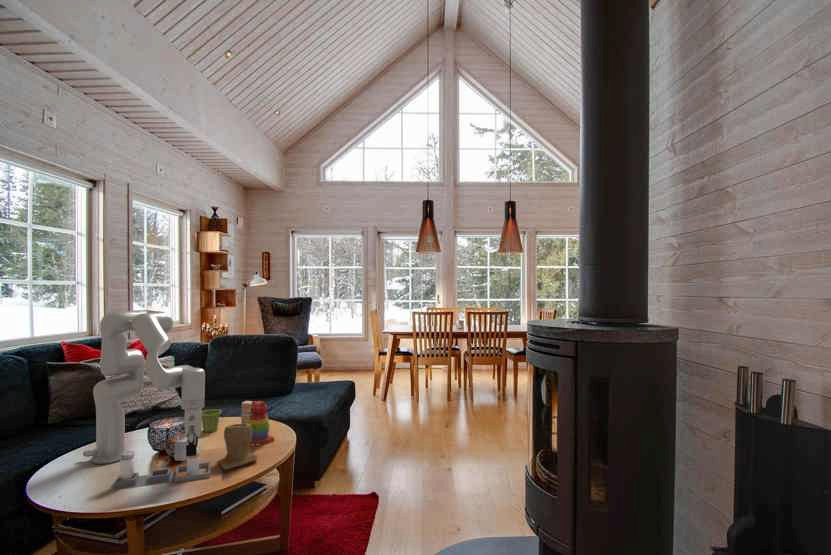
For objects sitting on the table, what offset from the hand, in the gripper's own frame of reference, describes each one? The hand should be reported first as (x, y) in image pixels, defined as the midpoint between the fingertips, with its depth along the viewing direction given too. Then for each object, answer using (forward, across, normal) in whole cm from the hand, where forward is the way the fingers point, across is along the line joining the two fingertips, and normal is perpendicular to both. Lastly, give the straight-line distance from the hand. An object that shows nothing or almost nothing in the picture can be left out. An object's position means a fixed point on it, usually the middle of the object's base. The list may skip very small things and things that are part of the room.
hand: (192, 450), depth 170 cm
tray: (+10, -1, -1) cm, 10 cm away
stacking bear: (+10, +30, -25) cm, 41 cm away
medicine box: (+10, +18, +3) cm, 21 cm away
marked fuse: (+9, 0, 0) cm, 9 cm away
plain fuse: (+8, -1, +20) cm, 22 cm away
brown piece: (+10, +7, -15) cm, 19 cm away
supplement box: (+10, +49, -23) cm, 55 cm away
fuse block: (+10, -1, +15) cm, 18 cm away
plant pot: (+11, +55, -5) cm, 57 cm away
